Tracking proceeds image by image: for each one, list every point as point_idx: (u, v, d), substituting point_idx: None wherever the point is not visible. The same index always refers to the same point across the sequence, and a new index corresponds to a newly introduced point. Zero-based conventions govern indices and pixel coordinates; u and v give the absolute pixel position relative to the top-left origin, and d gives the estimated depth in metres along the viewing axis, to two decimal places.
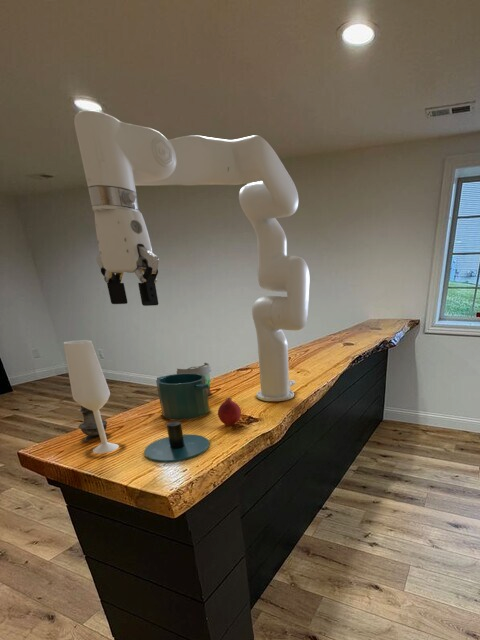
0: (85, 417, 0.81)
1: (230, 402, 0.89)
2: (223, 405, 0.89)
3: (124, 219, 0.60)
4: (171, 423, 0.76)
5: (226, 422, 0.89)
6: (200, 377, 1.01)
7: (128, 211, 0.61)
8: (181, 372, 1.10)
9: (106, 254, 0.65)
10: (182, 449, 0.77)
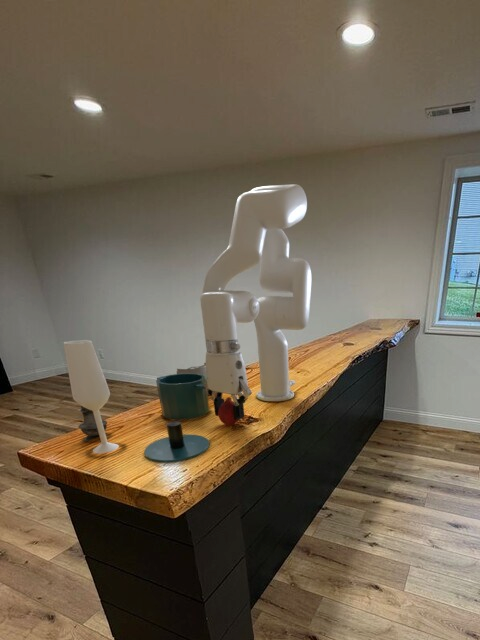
0: (85, 417, 0.81)
1: (230, 402, 0.89)
2: (223, 405, 0.88)
3: (232, 362, 0.82)
4: (171, 423, 0.76)
5: (226, 422, 0.89)
6: (200, 377, 1.01)
7: (234, 355, 0.82)
8: (181, 372, 1.10)
9: (212, 381, 0.86)
10: (182, 449, 0.77)
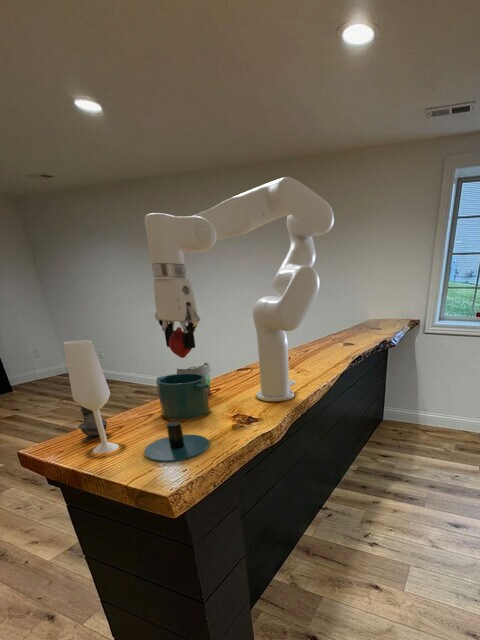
0: (85, 417, 0.81)
1: (180, 331, 0.90)
2: (173, 334, 0.90)
3: (178, 286, 0.83)
4: (171, 423, 0.76)
5: (176, 351, 0.90)
6: (200, 377, 1.01)
7: (180, 280, 0.84)
8: (181, 372, 1.10)
9: (161, 308, 0.88)
10: (182, 449, 0.77)
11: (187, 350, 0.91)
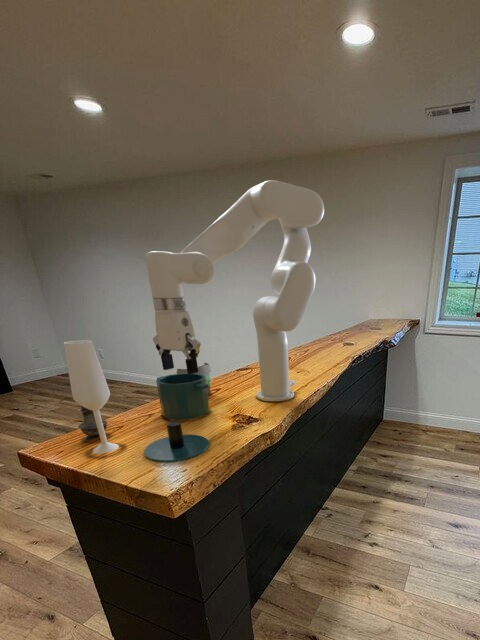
0: (85, 417, 0.81)
1: None
2: None
3: (177, 318, 0.87)
4: (171, 423, 0.76)
5: None
6: (200, 377, 1.01)
7: (180, 312, 0.88)
8: (181, 372, 1.10)
9: (162, 338, 0.92)
10: (182, 449, 0.77)
11: None
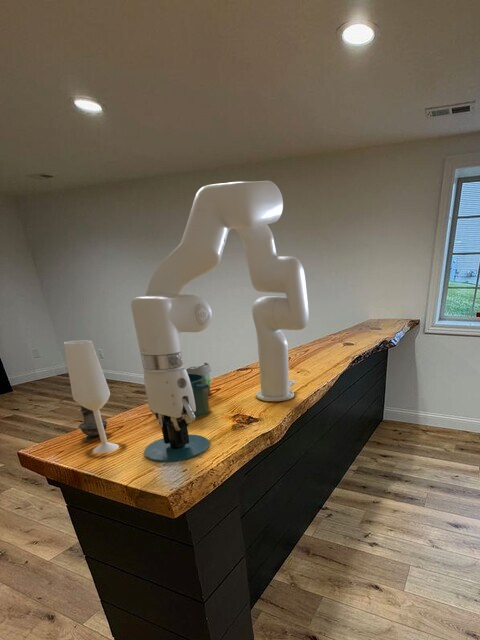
0: (85, 417, 0.81)
1: None
2: None
3: (172, 380, 0.69)
4: (171, 423, 0.76)
5: None
6: (200, 377, 1.01)
7: (175, 372, 0.69)
8: None
9: (153, 401, 0.73)
10: (182, 449, 0.77)
11: None
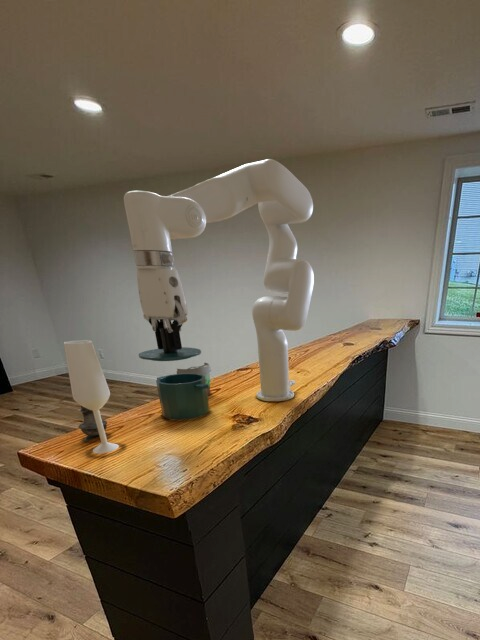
0: (85, 417, 0.81)
1: None
2: None
3: (164, 277, 0.72)
4: (164, 328, 0.79)
5: None
6: (200, 377, 1.01)
7: (167, 269, 0.72)
8: (181, 372, 1.10)
9: (146, 303, 0.76)
10: (175, 353, 0.80)
11: None
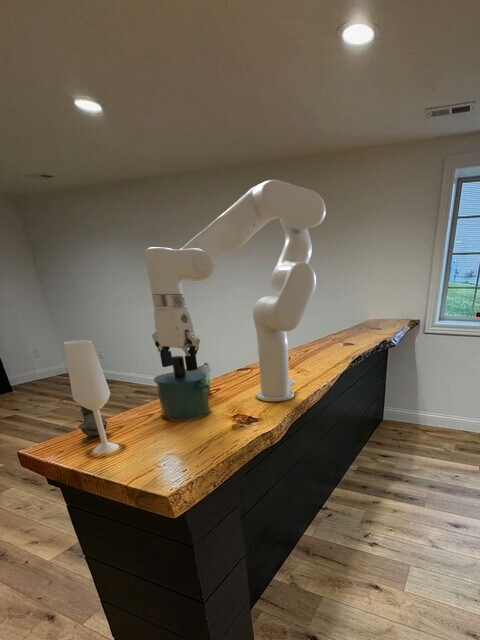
0: (85, 417, 0.81)
1: None
2: None
3: (177, 315, 0.87)
4: (175, 356, 0.95)
5: None
6: None
7: (179, 309, 0.87)
8: None
9: (161, 335, 0.91)
10: (184, 378, 0.95)
11: None
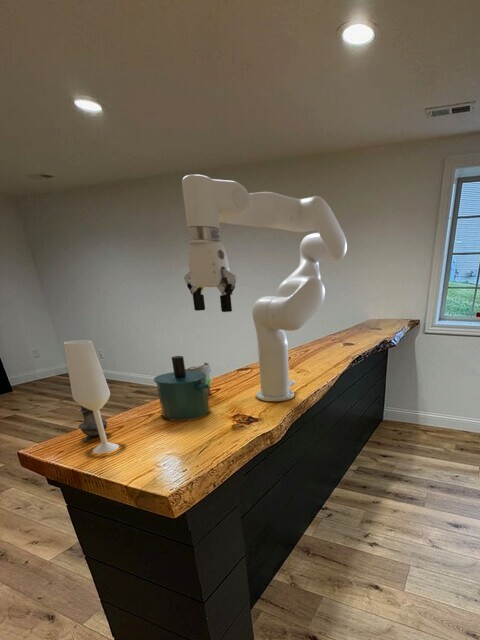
0: (85, 417, 0.81)
1: None
2: None
3: (213, 249, 0.83)
4: (175, 356, 0.95)
5: None
6: None
7: (216, 243, 0.83)
8: None
9: (196, 274, 0.88)
10: (184, 378, 0.95)
11: None
